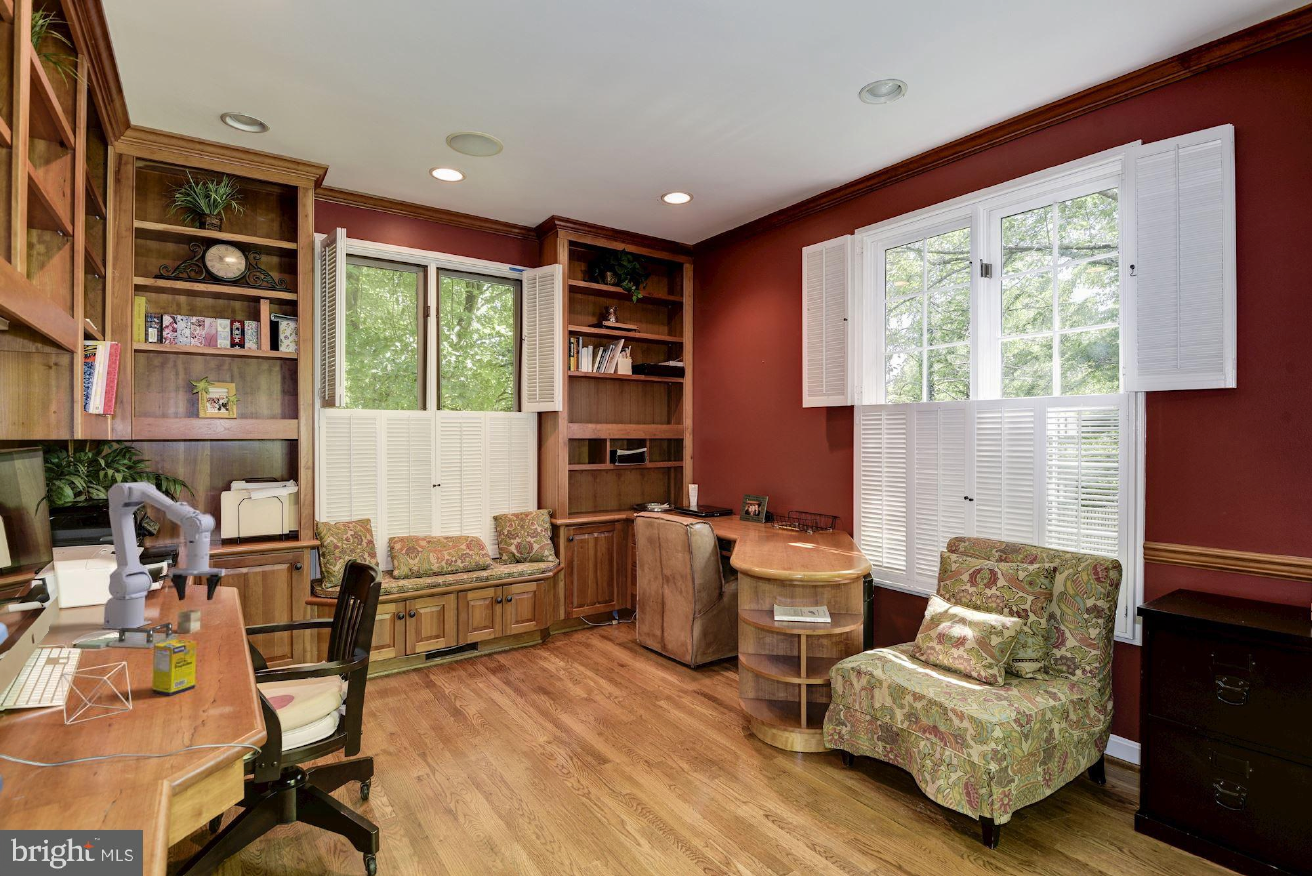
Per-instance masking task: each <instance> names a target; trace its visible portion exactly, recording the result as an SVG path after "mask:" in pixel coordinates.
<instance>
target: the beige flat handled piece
mask: <svg viewBox="0 0 1312 876" xmlns="http://www.w3.org/2000/svg"><path fill="white" fill-rule="evenodd" d="M163 629H165V633H161V632H159V633H158V632H157V631H160V630H163ZM172 629H173V624H172V623H171V622H169V621H168V622H165V623H162V624H159V625H156V626H153V627H151V628H150V627H149V628H148V627H145V628H144V627H137V628H125V627H122V628H121V629H118V630H119V639H117V640H114V641H111V642H109V646H108V647H109V648H110V647H111V648H113V647H114V648H133V649H134V648H137V649H139V648H140V649H152V648H153V649H154V645H156V644H160V643H164V642H168V641H172V640H176V639H179V633H173V632H172V631H173V630H172ZM125 632H137V633H135V634H132V635H129V636H126V637H125Z"/></svg>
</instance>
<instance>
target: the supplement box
mask: <svg viewBox="0 0 1312 876" xmlns="http://www.w3.org/2000/svg"><path fill="white" fill-rule="evenodd" d="M197 642H198V641H197V640H196V641H194V640H188V639H184V638H183V639H182V638H177V639H174V640H171V641H168V642H164V643H160V644H156V645H154V647H153V664H152V666H153V667H152V690H151V691H152V692H151V693H154V694H159V695H165V696H170V697H171V696H174V695H177V693H178V694H180V693H183V692H186V691H189V689H190V690H192V689H195V687H196V673H197V672H196V669H197V668H196V665H197V664H196V663H197Z"/></svg>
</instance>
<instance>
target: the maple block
mask: <svg viewBox="0 0 1312 876" xmlns="http://www.w3.org/2000/svg"><path fill="white" fill-rule="evenodd" d="M201 611H202V610H201V609H185V610H183V611H180V612H178V613H177V633H176V634H188V633H191V634H193V633H196V632H198V631H197V630H199V631H201ZM195 631H196V632H195ZM192 632H193V633H192Z"/></svg>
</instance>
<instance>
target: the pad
mask: <svg viewBox="0 0 1312 876" xmlns="http://www.w3.org/2000/svg"><path fill="white" fill-rule="evenodd" d="M119 630H120V629H117V630H115V631H114V632H117V633H119ZM135 633H137V632H125V637H126V636H129V635H132V634H135ZM117 639H119V637H114V638H104V639H97V640H90V639H89V640H90V641H87V640H84V641H80V642H77V643H75V648H76V649H77V648H79V649H97V650H98V649H100V650H101V649H104V648H107V647H109V642H111V641H114V640H117Z"/></svg>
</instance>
